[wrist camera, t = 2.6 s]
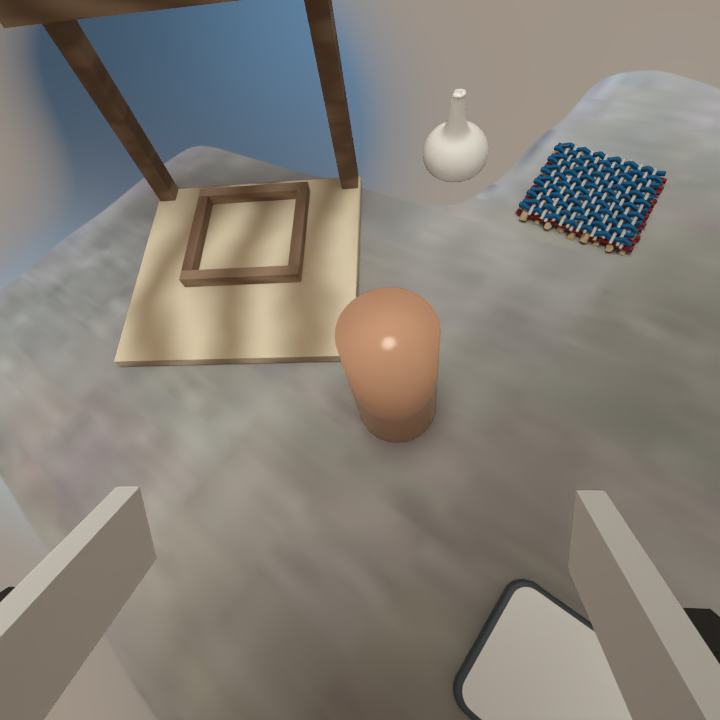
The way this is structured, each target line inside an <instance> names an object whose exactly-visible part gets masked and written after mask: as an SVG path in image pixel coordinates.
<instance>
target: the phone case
mask: <svg viewBox="0 0 720 720" xmlns="http://www.w3.org/2000/svg"><path fill="white" fill-rule="evenodd" d="M453 689H454V695H455V699H456V702H457V704H458V706H459V707H460V709H461V710H462V711H463V712H464V713H465V714H466V715H468V716H469V717H470V718H471V719H472V720H632V718H631V715H630V713H629V711H628V708H627V706H626V704H625V701H624V699H623V697H622V694H621V692H620V690H619V687H618V685H617V682H616V680H615V678H614V675H613V673H612V671H611V668H610V666H609V664H608V661H607V659H606V657H605V654H604V652H603V650H602V647H601V645H600V643H599V640H598V638H597V636H596V633H595V631H594V629H593V626H592V624H591V622H589V621H588V620H586V619H585V618H583V617H582V616H581V615H579V614H578V613H576V612H575V611H574V610H572V609H571V608H569V607H568V606H567V605H565V604H564V603H562V602H561V601H559V600H558V599H557V598H555V597H554V596H552V595H551V594H550V593H548V592H547V591H545V590H544V589H542V588H541V587H540V586H538V585H537V584H535V583H534V582H532V581H529V580H525V579H519V580H515V581H513V582H511V583H510V584H509V585H507V587H506V588H505V590H504V592H503V593H502V595H501V597H500V599H499V601H498V602H497V604H496V606H495V608H494V609H493V611H492V613H491V615H490V616H489V618H488V620H487V622H486V623H485V625H484V627H483V629H482V630H481V632H480V634H479V636H478V638H477V639H476V641H475V643H474V645H473V646H472V648H471V650H470V652H469V653H468V655H467V657H466V659H465V660H464V662H463V664H462V666H461V667H460V669H459V671H458V673H457V675H456V677H455V680H454V686H453Z"/></svg>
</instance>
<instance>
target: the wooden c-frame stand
mask: <svg viewBox="0 0 720 720" xmlns="http://www.w3.org/2000/svg"><path fill="white" fill-rule="evenodd" d="M229 1H238V0H0V23H1V24H2V25H3V27H4V28H8V27H17V26H25V25H34V24H42V25H43V26H44V27H45V29H46V31H47V32H48V34H49V35H50V37H51V38H52V40H53V41H54V43H55V44H56V46H57V47H58V48H59V50H60V52H61V53H62V54H63V56H64V57H65V59H66V60H67V62H68V63H69V65H70V66H71V68H72V69H73V71H74V72H75V74H76V75H77V77H78V78H79V80H80V81H81V83H82V84H83V86H84V87H85V89H86V90H87V92H88V93H89V95H90V96H91V98H92V99H93V101H94V102H95V104H96V105H97V107H98V108H99V110H100V111H101V113H102V114H103V116H104V117H105V119H106V120H107V122H108V123H109V125H110V126H111V128H112V129H113V131H114V132H115V134H116V135H117V137H118V138H119V140H120V141H121V143H122V144H123V146H124V147H125V149H126V150H127V152H128V153H129V155H130V156H131V158H132V159H133V160H134V162H135V163H136V165H137V167H138V168H139V170H140V171H141V173H142V174H143V176H144V177H145V179H146V180H147V182H148V183H149V185H150V186H151V188H152V189H153V191H154V192H155V194H156V195H157V197H158V198H159V199H160V200H159V204H158V207H157V211H156V214H155V218H154V221H153V225H152V228H151V232H150V236H149V239H148V243H147V246H146V250H145V253H144V257H143V260H142V264H141V268H140V271H139V275H138V278H137V282H136V285H135V289H134V292H133V296H132V300H131V303H130V307H129V310H128V314H127V317H126V321H125V324H124V328H123V332H122V335H121V339H120V342H119V346H118V349H117V353H116V357H115V360H114V362H115V363H117V364H118V365H119V366H161V365H202V364H244V363H285V362H326V361H341V359H340V356H339V353H338V350H337V347H336V343H335V327H336V324H337V321H338V318H339V316H340V314H341V313H342V311H343V310H344V309H345V307H346V306H347V305H348V304H349V303H350V302H351V301H352V300H354V299H355V298H356V297H357V293H358V267H359V241H360V215H361V189H362V186H361V185H362V183H361V176H358V170H357V163H356V157H355V150H354V144H353V137H352V131H351V124H350V118H349V111H348V105H347V98H346V92H345V85H344V79H343V72H342V66H341V59H340V53H339V46H338V40H337V34H336V27H335V20H334V15H333V7H332V1H331V0H304V2H305V7H306V12H307V17H308V22H309V27H310V31H311V37H312V41H313V47H314V52H315V57H316V61H317V66H318V72H319V77H320V82H321V87H322V92H323V96H324V102H325V107H326V111H327V117H328V122H329V127H330V132H331V137H332V142H333V147H334V152H335V157H336V162H337V167H338V172H339V176H340V178H328V179H314V180H299V181H285V182H271V183H257V184H242V185H228V186H214V187H200V188H185V189H178V187H177V186H176V184H175V182H174V181H173V179H172V177H171V176H170V174H169V172H168V171H167V169H166V168H165V166H164V164H163V163H162V161H161V159H160V158H159V156H158V155H157V153H156V151H155V149H154V148H153V146H152V144H151V143H150V141H149V139H148V138H147V136H146V134H145V133H144V131H143V129H142V128H141V126H140V125H139V123H138V121H137V120H136V118H135V116H134V115H133V113H132V111H131V110H130V108H129V106H128V105H127V103H126V101H125V100H124V98H123V96H122V95H121V93H120V92H119V90H118V88H117V86H116V85H115V83H114V82H113V80H112V78H111V77H110V75H109V73H108V72H107V70H106V68H105V67H104V65H103V63H102V62H101V60H100V58H99V57H98V55H97V53H96V52H95V50H94V48H93V47H92V45H91V44H90V42H89V40H88V39H87V37H86V35H85V34H84V32H83V30H82V29H81V27H80V25H79V24H78V22H77V20H76V19H85V18H94V17H102V16H111V15H119V14H128V13H136V12H145V11H153V10H162V9H170V8H178V7H187V6H196V5H204V4H212V3H221V2H229Z"/></svg>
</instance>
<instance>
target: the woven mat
mask: <svg viewBox="0 0 720 720" xmlns="http://www.w3.org/2000/svg"><path fill="white" fill-rule="evenodd" d="M577 147H578V146H577V145H576V146H575V145H574V144H573V143H564V144H562V143H559V144H558V145H556V146H555V147H554V150H556V151H559V152H560V154H558V153H556V154H552V155H551V156H549V157H548V161H549V162H551V163H549V162H547V163H546V165H545V166H544V167H542V168H541V172H543V173H545V175H544V176H542V175H539V176H538V177H537V179H536V178H535V179H534V183H535V184H538V185H539V186H536V185H533V186H532V187H531V189H530V190H528V191H527V192H526V193H527V195H530V196H532V197H530V196H527V195H526V197H525V199H524V200H523V201H522V202H520V203H519V207H523V208H524V210H523V211H522V210H521V209H518V210H517V211H516V213H517V214H518V215H519V216H520V218H519V219H520V220H522V221H526V220H528V219H535V220H534V223H533V224H535V225H538V226H539V224H540V223H541V221H543V222H546V223H545V226H544V229H547V230H549V229H551V228H552V226H553V225H556V226H558V227H557V229H556V232H558V233H563V232H564V231H565V230H568V231H570V233H569V234H568V236H567V238H566V239H569V240H572V241H573V240H574V238H575V236H576V235H578V236H579V237H580V240H579V241H581V242H583V243H587V241H589V242H590V241H594V242H593V244H592V245H594V246H597V247H598V246H599V245H600V243H604V244H607V245H606V248H605V251H607V252H611V251H613V249H614V247H616V248H619V249H620V251H619V253H618V255H621V256H625V255H626V253H627V251H628V252H632V250H633V247H630V246H631V245H632V246H634V245H635V244H636V242H637V241H639V240H640V236H636V234H637V232H640V233H641V231H642V230H643V228H642V227H646V223H644V222H643V221H642V220H647V219H648V217H649V215H646V213H648V214H650V213H651V212H652V209H650V208H649V207H651V208H653V207H654V205H655V204H656V203H657V200H656V199H654V198H655V195H658V196H659V195H660V193H661V191H662V190H663V189H664V187H662V186H661V185H660V183H663V184H665V183H666V181H667V179H665V178H661V177H659V176H665V174H666V171H657V168H655V169H653V168H652V167H650V166H645V167H642V165H643V164H640V165H637V164H636V163H635V162H633V160H632V159H631V160H630V161H627V162H625V160H626V158H624V159H623V160H622V159H621V158H620V157H612V158H611V157H610V158H608V156H609V155H608V154H606V155H605V154H604V153H603V152H600V151H599V152H595V151H594V150H592V151H590V150H589V149H587V148H586V147H580V148H577ZM570 149H571V150H570ZM578 152H579V153H578ZM594 152H595V153H594ZM582 153H583V154H582ZM581 154H582V155H581ZM594 157H597V158H596V159H595V158H594ZM600 158H601V159H602V160H600ZM563 160H565V161H563ZM611 162H614V163H611ZM552 163H553V164H552ZM616 163H618V164H616ZM562 166H563V167H562ZM603 166H604V168H602V167H603ZM630 167H631V168H630ZM615 170H617V171H615ZM643 172H645V173H643ZM583 173H585V174H583ZM597 177H598V178H597ZM583 179H584V181H583V182H582V181H581V180H583ZM623 179H624V182H623ZM609 181H611V182H609ZM637 183H638V185H637ZM563 186H564V187H563ZM603 186H605V187H603ZM562 187H563V188H562ZM561 188H562V189H561ZM618 190H619V191H618ZM574 191H577V192H574ZM642 192H643V193H642ZM646 192H647V193H646ZM602 193H604V194H602ZM645 193H646V195H645ZM625 199H626V200H627V201H626V200H625ZM542 200H543V201H542ZM584 200H586V201H585V202H584ZM540 201H542V202H540ZM583 202H584V203H583ZM640 204H641V205H640ZM596 205H597V206H596ZM624 207H626V208H625V209H624ZM578 212H579V213H578ZM531 213H535V214H531ZM605 214H606V216H605V217H604V215H605ZM560 215H564V216H563V217H560ZM617 220H619V221H617ZM584 222H585V223H584ZM639 226H641V227H639ZM598 227H599V228H598ZM623 229H624V230H623ZM627 229H628V231H627ZM581 230H584V232H582V231H581ZM626 231H627V232H626ZM605 237H606V238H605Z"/></svg>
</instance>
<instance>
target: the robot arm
mask: <svg viewBox="0 0 720 720" xmlns="http://www.w3.org/2000/svg"><path fill="white" fill-rule="evenodd" d="M155 560H156V554H155V550H154V546H153V541H152V537H151V533H150V528H149V524H148V520H147V516H146V511H145V507H144V503H143V499H142V494H141V490H140V487H116V488H115V489H114V490H113V491H112V492H111V493H110V494H109V495H108V496H107V497H106V498H105V499H104V500H103V501H102V502H101V503H100V504H99V505H98V506H97V507H96V508H95V509H94V510H93V511H92V512H91V513H90V514H89V515H88V516H87V517H86V518H85V519H84V520H83V521H82V522H81V523H80V524H79V525H78V526H77V527H76V528H75V529H74V530H73V531H72V532H71V533H70V534H69V535H68V536H67V537H65V538H64V539H63V540H62V541H61V542H60V543H59V544H58V545H57V546H56V547H55V548H54V549H53V550H52V551H51V552H50V553H49V554H48V555H47V556H46V557H45V558H44V559H43V560H42V561H41V562H40V563H39V564H38V565H37V566H36V568H34V569H33V570H32V571H31V572H30V573H29V574H28V575H27V576H26V577H25V578H24V579H23V580H22V581H21V582H20V583H19V584H18V585H17V586H16V587H8V588H6V589H5V590H3V591H2V592H0V720H44V719H45V717H46V716H47V714H48V713H49V712H50V710H51V709H52V707H53V706H54V704H55V703H56V702H57V700H58V699H59V697H60V696H61V694H62V693H63V692H64V690H65V688H66V687H67V686H68V684H69V683H70V681H71V680H72V679H73V677H74V676H75V674H76V673H77V671H78V670H79V669H80V667H81V666H82V664H83V663H84V661H85V660H86V659H87V657H88V656H89V654H90V653H91V651H92V650H93V649H94V647H95V646H96V644H97V643H98V641H99V640H100V638H101V637H102V636H103V634H104V633H105V631H106V630H107V628H108V627H109V626H110V624H111V623H112V621H113V620H114V618H115V617H116V616H117V614H118V613H119V611H120V610H121V608H122V607H123V606H124V604H125V603H126V601H127V600H128V598H129V597H130V596H131V594H132V593H133V591H134V590H135V588H136V587H137V585H138V584H139V583H140V581H141V580H142V578H143V577H144V575H145V574H146V573H147V571H148V570H149V568H150V567H151V565H152V564H153V563H154V561H155ZM568 570H569V572H570V575H571V577H572V579H573V582H574V584H575V586H576V589H577V591H578V593H579V596H580V598H581V600H582V603H583V605H584V607H585V610H586V612H587V614H588V617H589V619H590V621H591V624H592V626H593V629H594V631H595V633H596V636H597V638H598V640H599V643H600V645H601V647H602V650H603V652H604V654H605V657H606V659H607V661H608V664H609V666H610V668H611V671H612V673H613V675H614V678H615V680H616V682H617V685H618V687H619V690H620V692H621V694H622V697H623V699H624V701H625V704H626V706H627V708H628V711H629V713H630V715H631V718H632V720H720V617H719V616H718V615H717V614H716V613H714V612H713V611H712V610H711V609H698V608H682V607H681V605H680V604H679V602H678V601H677V599H676V598H675V596H674V595H673V593H672V592H671V590H670V589H669V587H668V586H667V584H666V583H665V581H664V580H663V578H662V577H661V575H660V574H659V572H658V571H657V569H656V568H655V566H654V564H653V563H652V561H651V560H650V558H649V557H648V555H647V554H646V552H645V551H644V549H643V548H642V546H641V545H640V543H639V542H638V540H637V539H636V537H635V536H634V534H633V533H632V531H631V530H630V528H629V527H628V525H627V524H626V522H625V521H624V519H623V518H622V516H621V515H620V513H619V512H618V510H617V509H616V507H615V506H614V504H613V503H612V501H611V500H610V498H609V497H608V495H607V494H606V492H605V491H596V490H576V496H575V506H574V516H573V525H572V535H571V545H570V555H569V564H568Z"/></svg>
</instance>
